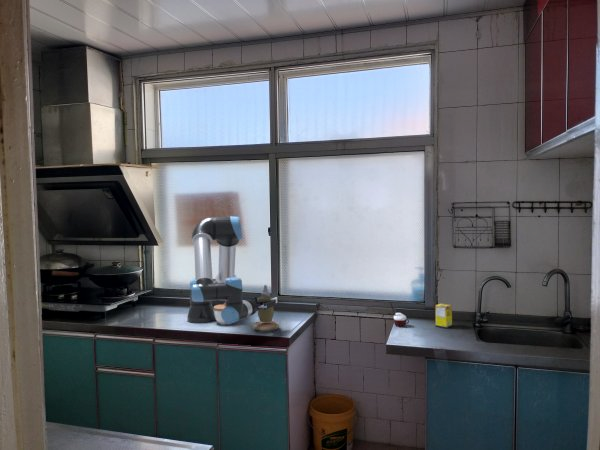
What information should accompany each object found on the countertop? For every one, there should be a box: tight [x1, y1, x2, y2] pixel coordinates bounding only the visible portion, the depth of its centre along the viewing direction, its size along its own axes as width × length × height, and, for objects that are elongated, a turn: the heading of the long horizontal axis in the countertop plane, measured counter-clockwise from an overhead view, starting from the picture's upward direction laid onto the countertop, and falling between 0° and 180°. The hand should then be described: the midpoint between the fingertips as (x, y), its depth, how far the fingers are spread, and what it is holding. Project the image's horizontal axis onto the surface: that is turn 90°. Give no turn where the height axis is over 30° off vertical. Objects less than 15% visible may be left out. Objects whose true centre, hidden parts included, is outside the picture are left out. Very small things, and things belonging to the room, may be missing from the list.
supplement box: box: [434, 303, 453, 329], centre depth 227 cm, size 6×6×11 cm
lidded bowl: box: [213, 301, 233, 326], centre depth 242 cm, size 13×13×11 cm
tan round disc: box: [252, 320, 280, 333], centre depth 227 cm, size 13×13×3 cm
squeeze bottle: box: [257, 284, 275, 322], centre depth 226 cm, size 8×8×18 cm
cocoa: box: [389, 302, 410, 328], centre depth 230 cm, size 10×6×12 cm, turn 68°
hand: (270, 299), depth 231 cm, fingers closed on squeeze bottle, 6 cm apart
